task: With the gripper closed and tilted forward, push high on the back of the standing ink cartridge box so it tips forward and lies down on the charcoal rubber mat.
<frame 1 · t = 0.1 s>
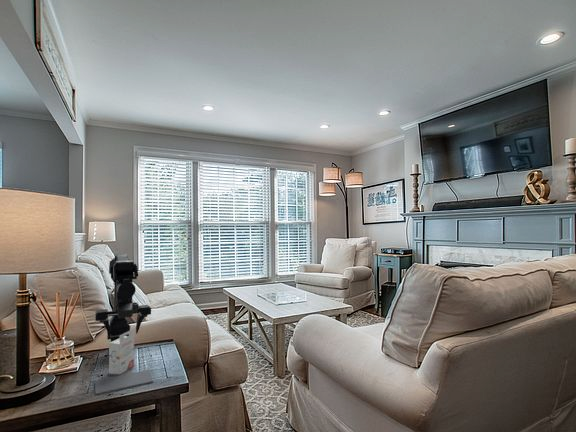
hand: (123, 335, 125), 15 cm above the table, tool pointing down, fingers open, 9 cm apart
charcoal mat: (124, 382, 119), on the table
ink cartridge box: (121, 370, 129), on the table
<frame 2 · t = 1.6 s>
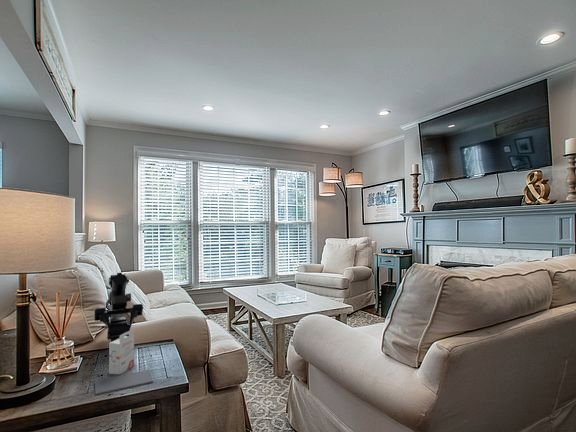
hand: (119, 329, 140), 13 cm above the table, tool tilted 45°, fingers open, 7 cm apart
nothing on the table moved.
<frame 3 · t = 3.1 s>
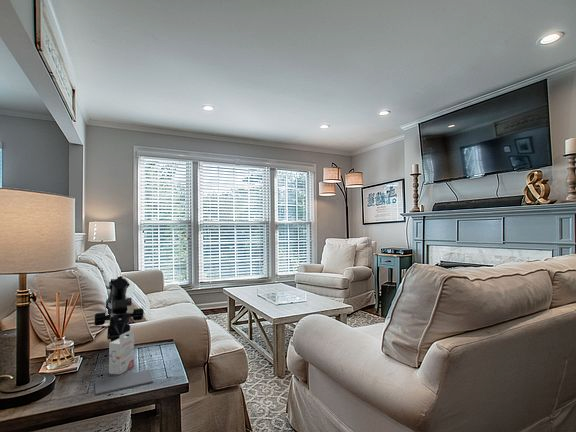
hand: (120, 334, 138), 11 cm above the table, tool tilted 45°, fingers closed
nothing on the table moved.
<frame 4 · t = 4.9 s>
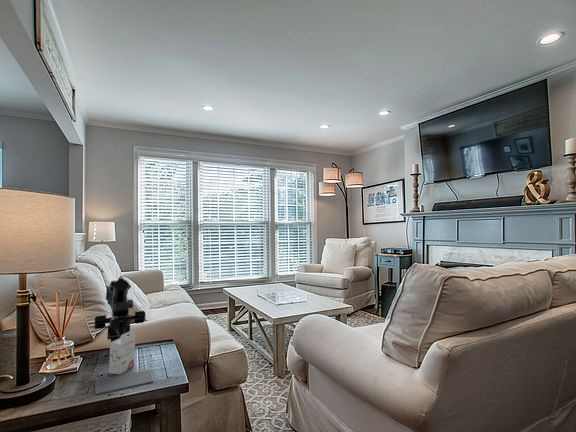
hand: (121, 337, 133), 11 cm above the table, tool tilted 45°, fingers closed
nothing on the table moved.
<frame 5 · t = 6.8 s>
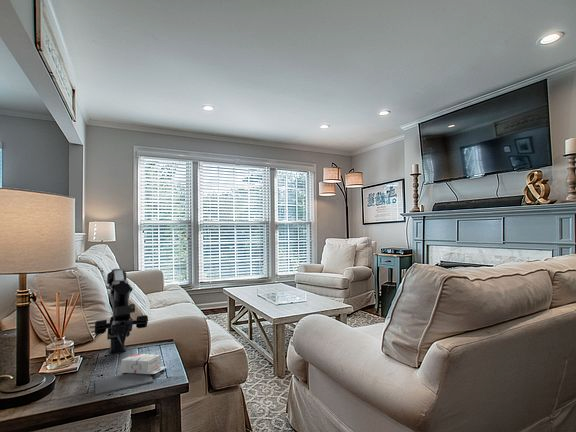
hand: (122, 344, 126), 11 cm above the table, tool tilted 45°, fingers closed
ink cartridge box: (128, 362, 130), point 3 cm above the table, touching charcoal mat
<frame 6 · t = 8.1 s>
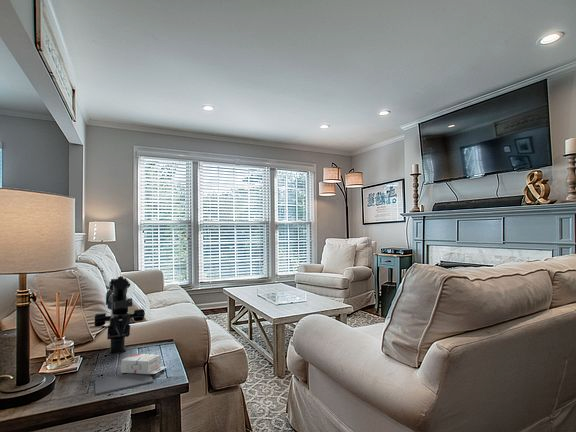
hand: (120, 335, 135), 11 cm above the table, tool tilted 45°, fingers closed
nothing on the table moved.
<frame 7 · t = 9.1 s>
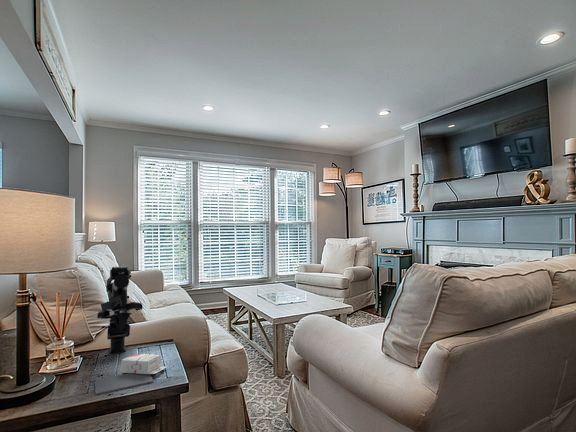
hand: (120, 331, 138), 12 cm above the table, tool tilted 25°, fingers closed
nothing on the table moved.
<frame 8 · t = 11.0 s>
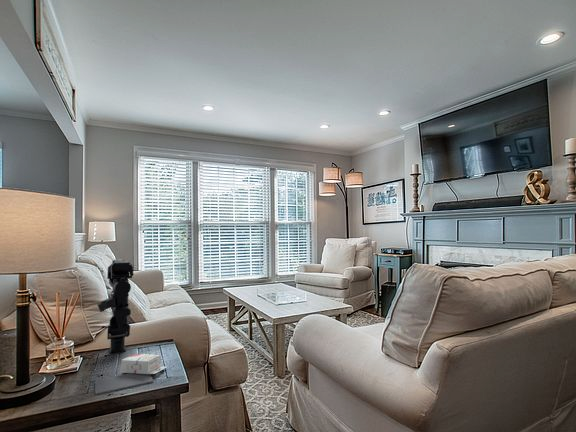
hand: (120, 328, 139), 13 cm above the table, tool pointing down, fingers closed
nothing on the table moved.
at the end: ink cartridge box tilted 87°; ink cartridge box touching charcoal mat, table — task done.
